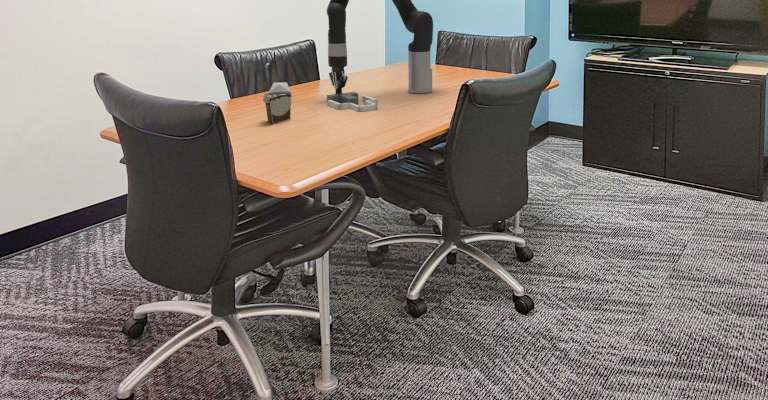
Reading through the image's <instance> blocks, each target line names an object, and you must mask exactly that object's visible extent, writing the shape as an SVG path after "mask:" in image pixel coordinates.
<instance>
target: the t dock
mask: <svg viewBox="0 0 768 400" xmlns="http://www.w3.org/2000/svg"><path fill="white" fill-rule="evenodd" d="M361 99H362V102H363V105H359V104H358V105H356V104H353V103H343V104H342V103H338V102H335V101H333V100H327V99H326V102H327V106H328V107H330V108H334V109H336V110H338V111H341V110H347V109H350V110H352V111H355V112H358V113H362V112H368V111H377V110H379V109H378V102H379V101H378V100H379V99H377V98H374V97H371V96H369V95H367V94H365V95H362V97H361Z"/></svg>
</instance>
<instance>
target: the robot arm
mask: <svg viewBox="0 0 768 400" xmlns="http://www.w3.org/2000/svg"><path fill="white" fill-rule="evenodd" d="M391 1H392V3H393V5H394V6H395V8H396V9H397V11H398V14H399V16H400V19H401V21H402V23H403V24H404V27H405V28H406V30H407V31H408V32H409V33H411V34H413V39H412V41H411V42H409V44H408V45H407V46H408V48H407V50H408V52H407V53H408V54H407V55H408V58H407V59H408V62H407V63H408V72H407V73H408V93H410V94H427V93H430V92H433V68H431V47H432V44H433V40H434V39H433V38H434V37H433V35H434V20H433V19H434V18H433V17H432V15H431V13H429V12H427V11H424V10H423V11H422V10H418V9H417V7H416V6H415V5H414V3H413V1H412V0H391ZM349 3H350V0H330V1H329V3H328V5H327V8H326V15H327V17H328V31H327V40H328V41H327V43H328V45H327V59H328V63H327V64H328V67H330V68H331V72H329V73H328V76H329V79H330V82H331V84H332V86H333V87H334V89H335V90H334V91H335V94H340V93H343V88H345V87H346V85H347V82H348V75H345V67H347V66H348V47H347V35H346V25H347V11H346V9H347V6H348V4H349Z"/></svg>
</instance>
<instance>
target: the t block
mask: <svg viewBox="0 0 768 400" xmlns="http://www.w3.org/2000/svg"><path fill="white" fill-rule="evenodd" d="M327 100H333V101H335V102H338V103H340V104H343V103H353V104H356V105H358V106H359V92H357V91H356V92H355V91H351V92H350V91H349V92H342V93H340V94H336V93H334V94H327V95H326V101H327Z"/></svg>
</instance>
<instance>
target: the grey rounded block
mask: <svg viewBox="0 0 768 400" xmlns="http://www.w3.org/2000/svg"><path fill="white" fill-rule="evenodd" d="M279 91H289V92H291V95H292V96H293V94H292V91H291V89H290V87H289V84H288V82H273V83H272V85H271V87H270V89H269V91H268V93H270V92H279Z"/></svg>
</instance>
